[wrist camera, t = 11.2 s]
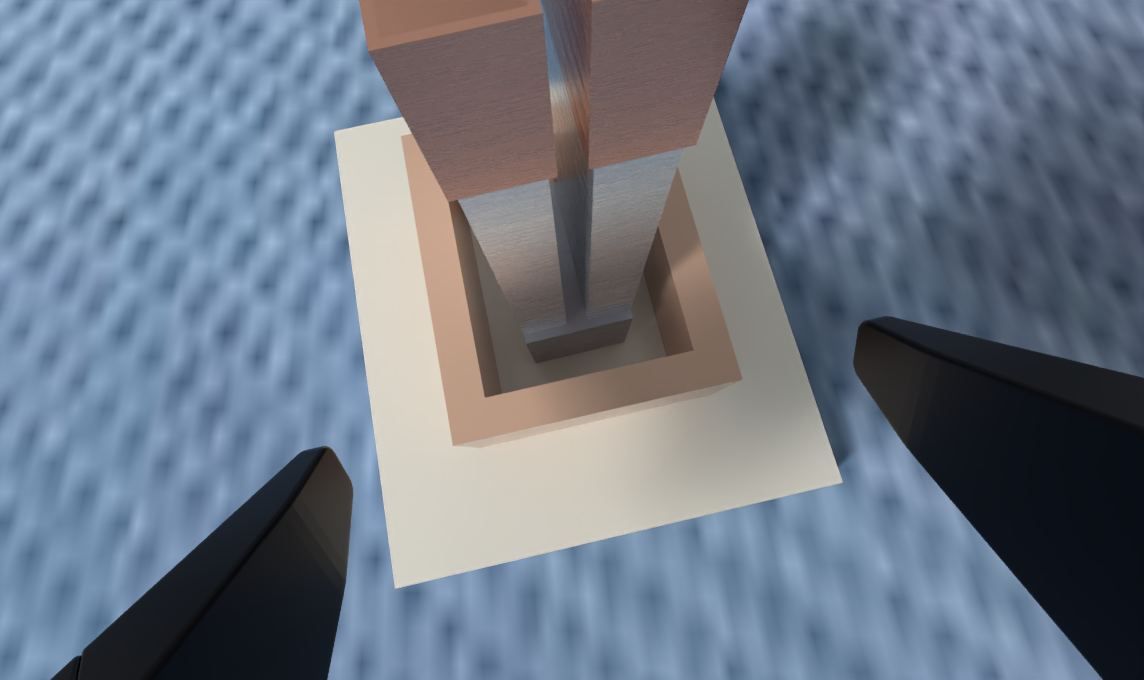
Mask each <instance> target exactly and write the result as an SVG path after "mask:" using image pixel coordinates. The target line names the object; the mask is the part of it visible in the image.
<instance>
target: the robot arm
mask: <svg viewBox="0 0 1144 680" xmlns="http://www.w3.org/2000/svg"><path fill="white" fill-rule="evenodd" d="M853 363H854V369H855V372H856V374H857V376H858V377H859V379H860V380H861V382H862V383H863V385H864V386H865V388H866V389H867V391H868V392H869V394H870V395H871V397H872V398H873V399H874V401H875V402H876V404H877V405H878V407H879V408H880V410H881V411H882V413H883V414H884V416H885V417H886V419H887V420H888V422H889V423H890V424H891V426H892V427H893V429H894V430H895V432H896V433H897V435H898V436H899V437H900V439H901V440H902V442H903V443H904V444H905V446H906V447H907V448H908V450H909V451H910V452H911V453H912V454H913V456H914V457H915V458H916V459H917V461H918V462H919V463H920V464H921V465H922V467H923V468H924V469H925V470H926V471H927V472H928V474H929V475H930V476H931V477H932V478H933V480H934V481H935V482H936V483H937V484H938V485H939V487H940V488H941V489H942V490H943V491H944V493H945V494H946V495H947V496H948V497H949V498H950V500H951V501H952V502H953V503H954V504H955V506H956V507H957V508H958V509H959V510H960V511H961V513H962V514H963V515H964V516H965V517H966V519H967V520H968V521H969V522H970V523H971V524H972V526H973V527H974V528H975V529H976V530H977V532H978V533H979V534H980V535H981V536H982V537H983V539H984V540H985V541H986V542H987V543H988V545H989V546H990V547H991V548H992V549H993V550H994V552H995V553H996V554H997V555H998V556H999V558H1000V559H1001V560H1002V561H1003V562H1004V563H1005V565H1006V566H1007V567H1008V568H1009V569H1010V571H1011V572H1012V573H1013V574H1014V575H1015V576H1016V578H1017V579H1018V580H1019V581H1020V582H1021V584H1022V585H1023V586H1024V587H1025V588H1026V589H1027V591H1028V592H1029V593H1030V594H1031V595H1032V597H1033V598H1034V599H1035V600H1036V601H1037V602H1038V604H1039V605H1040V606H1041V607H1042V608H1043V610H1044V611H1045V612H1046V613H1047V614H1048V615H1049V617H1050V618H1051V619H1052V620H1053V621H1054V623H1055V624H1056V625H1057V626H1058V627H1059V628H1060V630H1061V631H1062V632H1063V633H1064V634H1065V636H1066V637H1067V638H1068V639H1069V640H1070V641H1071V643H1072V644H1073V645H1074V646H1075V647H1076V649H1077V650H1078V651H1079V652H1080V653H1081V654H1082V656H1083V657H1084V658H1085V659H1086V660H1087V662H1088V663H1089V664H1090V665H1091V666H1092V667H1093V669H1094V670H1095V671H1096V672H1097V673H1098V675H1099V676H1100V677H1101V678H1102V679H1103V680H1144V378H1142V377H1138V376H1134V375H1130V374H1126V373H1122V372H1117V371H1113V370H1109V369H1105V368H1101V367H1097V366H1093V365H1089V364H1084V363H1080V362H1076V361H1072V360H1068V359H1064V358H1060V357H1056V356H1051V355H1047V354H1043V353H1039V352H1035V351H1031V350H1027V349H1022V348H1018V347H1014V346H1010V345H1006V344H1002V343H998V342H994V341H989V340H985V339H981V338H977V337H973V336H969V335H965V334H960V333H956V332H952V331H948V330H944V329H940V328H936V327H932V326H927V325H923V324H919V323H915V322H911V321H907V320H903V319H899V318H894V317H890V316H883V317H879V318H874V319H870V320H866V321H864V322H862V323H861V324H860V326H859V328H858V333H857V340H856V347H855V353H854V361H853ZM352 502H353V487H352V483H351V480H350V478H349V476H348V475H347V473H346V471H345V469H344V468H343V466H342V464H341V463H340V461H339V459H338V457H337V456H336V454H335V452H334V451H333V450H332V449H331V448H330V447H327V446H322V447H318V448H313V449H309V450H305V451H302V452H301V453H299V454H298V455H297V456H296V457H295V458H294V459H293V460H291V461H290V462H289V463H288V464H287V465H286V466H285V467H284V468H283V469H282V470H280V471H279V472H278V473H277V474H276V475H275V476H274V477H273V478H272V479H271V480H269V481H268V482H267V483H266V484H265V485H264V486H263V487H262V488H261V489H260V490H258V491H257V492H256V493H255V494H254V495H253V496H252V497H251V498H250V499H249V500H247V501H246V502H245V503H244V504H243V505H242V506H241V507H240V508H239V509H238V510H236V511H235V512H234V513H233V514H232V515H231V516H230V517H229V518H228V519H227V520H225V521H224V522H223V523H222V524H221V525H220V526H219V527H218V528H217V529H216V530H215V531H213V532H212V533H211V534H210V535H209V536H208V537H207V538H206V539H205V540H204V541H202V542H201V543H200V544H199V545H198V546H197V547H196V548H195V549H194V550H193V551H191V552H190V553H189V554H188V555H187V556H186V557H185V558H184V559H183V560H182V561H180V562H179V563H178V564H177V565H176V566H175V567H174V568H173V569H172V570H171V571H169V572H168V573H167V574H166V575H165V576H164V577H163V578H162V579H161V580H160V581H158V582H157V583H156V584H155V585H154V586H153V587H152V588H151V589H150V590H149V591H147V592H146V593H145V594H144V595H143V596H142V597H141V598H140V599H139V600H138V601H136V602H135V603H134V604H133V605H132V606H131V607H130V608H129V609H128V610H127V611H125V612H124V613H123V614H122V615H121V616H120V617H119V618H118V619H117V620H116V621H114V622H113V623H112V624H111V625H110V626H109V627H108V628H107V629H106V630H105V631H103V632H102V633H101V634H100V635H99V636H98V637H97V638H96V639H95V640H94V641H92V642H91V643H90V644H89V645H88V646H87V647H86V648H85V649H84V650H83V652H82V656H76V657H75V658H74V659H72V660H71V661H70V662H69V663H68V664H67V665H66V666H65V667H64V668H63V669H62V670H60V671H59V672H58V673H57V674H56V675H55V676H54V677H53V678H52V679H51V680H327V678H328V673H329V668H330V663H331V657H332V652H333V647H334V642H335V637H336V632H337V626H338V621H339V616H340V611H341V606H342V601H343V595H344V589H345V583H346V575H347V566H348V553H349V541H350V528H351V515H352Z"/></svg>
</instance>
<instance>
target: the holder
mask: <svg viewBox="0 0 1144 680" xmlns="http://www.w3.org/2000/svg"><path fill="white" fill-rule="evenodd" d="M334 135H335V142H336V150H337V157H338V165H339V172H340V180H341V187H342V195H343V202H344V210H345V217H346V225H347V232H348V239H349V247H350V254H351V262H352V269H353V277H354V284H355V292H356V299H357V307H358V314H359V322H360V329H361V337H362V344H363V352H364V359H365V367H366V374H367V382H368V389H369V397H370V404H371V412H372V419H373V426H374V434H375V441H376V449H377V456H378V464H379V471H380V479H381V486H382V494H383V501H384V509H385V516H386V524H387V531H388V539H389V546H390V554H391V561H392V569H393V576H394V584H395V589H396V588H400V587H404V586H408V585H413V584H417V583H421V582H425V581H430V580H434V579H438V578H442V577H446V576H451V575H455V574H459V573H463V572H468V571H472V570H476V569H480V568H484V567H489V566H493V565H497V564H501V563H506V562H510V561H514V560H518V559H522V558H527V557H531V556H535V555H539V554H544V553H548V552H552V551H556V550H560V549H565V548H569V547H573V546H577V545H582V544H586V543H590V542H594V541H598V540H603V539H607V538H611V537H615V536H620V535H624V534H628V533H632V532H636V531H641V530H645V529H649V528H653V527H658V526H662V525H666V524H670V523H674V522H679V521H683V520H687V519H691V518H696V517H700V516H704V515H708V514H712V513H717V512H721V511H725V510H729V509H734V508H738V507H742V506H746V505H750V504H755V503H759V502H763V501H767V500H772V499H776V498H780V497H784V496H788V495H793V494H797V493H801V492H805V491H810V490H814V489H818V488H822V487H826V486H831V485H835V484H839V483H843V482H842V479H841V476H840V473H839V470H838V467H837V464H836V461H835V458H834V455H833V452H832V449H831V446H830V443H829V440H828V437H827V434H826V431H825V428H824V425H823V422H822V419H821V416H820V413H819V410H818V407H817V404H816V401H815V398H814V395H813V392H812V389H811V386H810V383H809V380H808V377H807V374H806V371H805V368H804V365H803V362H802V359H801V356H800V353H799V350H798V347H797V344H796V341H795V339H794V336H793V333H792V330H791V327H790V324H789V321H788V318H787V315H786V312H785V309H784V306H783V303H782V300H781V297H780V294H779V291H778V288H777V285H776V282H775V279H774V276H773V273H772V270H771V267H770V264H769V261H768V258H767V255H766V252H765V249H764V246H763V243H762V240H761V237H760V234H759V231H758V228H757V225H756V222H755V219H754V216H753V213H752V210H751V207H750V204H749V201H748V198H747V195H746V192H745V189H744V186H743V183H742V180H741V177H740V174H739V171H738V169H737V166H736V163H735V160H734V157H733V154H732V151H731V148H730V145H729V142H728V139H727V136H726V133H725V130H724V127H723V124H722V121H721V118H720V115H719V112H718V109H717V106H716V103H715V100H714V97H713V100H712V102H711V105H710V108H709V111H708V113H707V116H706V119H705V122H704V124H703V127H702V130H701V133H700V135H699V138H698V141H697V144H696V145H695V146H690V147H686V148H683V151H682V154H681V157H680V160H679V163H678V166H677V169H676V172H675V175H674V178H673V181H672V185H671V188H670V191H669V194H668V197H667V200H666V203H665V206H664V209H663V212H662V215H661V218H660V221H659V224H658V227H657V230H656V233H655V236H654V239H653V243H652V246H651V249H650V252H649V255H648V258H647V261H646V264H645V267H644V270H643V273H642V276H641V279H640V282H639V285H638V288H637V291H636V294H635V297H634V301H633V304H632V307H631V313H632V316H633V319H632V322H631V325H630V328H629V330H628V333H627V336H626V338H625V341H624V342H623V343H619V344H615V345H611V346H606V347H602V348H598V349H594V350H590V351H586V352H582V353H577V354H573V355H569V356H565V357H561V358H557V359H553V360H548V361H544V362H540V363H535V361H534V359H533V357H532V355H531V353H530V351H529V349H528V347H527V345H526V343H525V338H524V335H523V332H522V330H521V328H520V326H519V324H518V322H517V320H516V318H515V316H514V314H513V312H512V310H511V308H510V306H509V304H508V302H507V300H506V298H505V296H504V294H503V291H502V289H501V287H500V285H499V283H498V281H497V279H496V277H495V275H494V273H493V271H492V269H491V267H490V265H489V263H488V261H487V259H486V257H485V255H484V252H483V250H482V248H481V246H480V244H479V242H478V240H477V238H476V236H475V234H474V232H473V230H472V228H471V226H470V224H469V222H468V220H467V218H466V216H465V214H464V211H463V209H462V207H461V205H460V203H459V201H458V200H455V201H451V202H448V201H447V199H446V197H445V195H444V193H443V191H442V189H441V188H440V186H439V184H438V182H437V180H436V178H435V176H434V174H433V172H432V171H431V169H430V167H429V165H428V163H427V161H426V159H425V157H424V155H423V154H422V152H421V150H420V148H419V146H418V144H417V142H416V140H415V139H414V137H413V135H412V133H411V131H410V129H409V127H408V125H407V123H406V122H405V120H404V118H403V117H401V118H396V119H391V120H386V121H381V122H377V123H372V124H367V125H362V126H357V127H353V128H348V129H343V130H338V131H334ZM552 183H554V180H553V178H551V179H549V184H552Z"/></svg>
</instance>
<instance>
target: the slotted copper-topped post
mask: <svg viewBox="0 0 1144 680" xmlns="http://www.w3.org/2000/svg"><path fill="white" fill-rule="evenodd" d="M748 1H749V0H359V2H360V8H361V13H362V19H363V24H364V30H365V36H366V41H367V47H368V52H369V54H370V55H371V57H372V59H373V61H374V63H375V65H376V67H377V69H378V71H379V72H380V74H381V76H382V78H383V80H384V82H385V84H386V86H387V88H388V89H389V91H390V93H391V95H392V97H393V99H394V101H395V103H396V105H397V106H398V108H399V110H400V112H401V114H402V116H403V118H404V120H405V122H406V123H407V125H408V127H409V129H410V131H411V133H412V135H413V137H414V139H415V140H416V142H417V144H418V146H419V148H420V150H421V152H422V154H423V155H424V157H425V159H426V161H427V163H428V165H429V167H430V169H431V171H432V172H433V174H434V176H435V178H436V180H437V182H438V184H439V186H440V188H441V189H442V191H443V193H444V195H445V197H446V199H447V201H448V202H451V201H455V200H458V201H459V203H460V205H461V207H462V209H463V211H464V214H465V216H466V218H467V220H468V222H469V224H470V226H471V228H472V230H473V232H474V234H475V236H476V238H477V240H478V242H479V244H480V246H481V248H482V250H483V252H484V255H485V257H486V259H487V261H488V263H489V265H490V267H491V269H492V271H493V273H494V275H495V277H496V279H497V281H498V283H499V285H500V287H501V289H502V291H503V294H504V296H505V298H506V300H507V302H508V304H509V306H510V308H511V310H512V312H513V314H514V316H515V318H516V320H517V322H518V324H519V326H520V328H521V330H522V332H523V335H524V338H525V343H526V345H527V347H528V349H529V351H530V353H531V355H532V357H533V359H534V361H535V363H540V362H544V361H548V360H553V359H557V358H561V357H565V356H569V355H573V354H577V353H582V352H586V351H590V350H594V349H598V348H602V347H606V346H611V345H615V344H619V343H623V342H624V341H625V338H626V336H627V333H628V330H629V328H630V325H631V322H632V319H633V316H632V313H631V307H632V304H633V301H634V297H635V294H636V291H637V288H638V285H639V282H640V279H641V276H642V273H643V270H644V267H645V264H646V261H647V258H648V255H649V252H650V249H651V246H652V243H653V239H654V236H655V233H656V230H657V227H658V224H659V221H660V218H661V215H662V212H663V209H664V206H665V203H666V200H667V197H668V194H669V191H670V188H671V185H672V181H673V178H674V175H675V172H676V169H677V166H678V163H679V160H680V157H681V154H682V151H683V148H686V147H690V146H695V145H696V144H697V141H698V138H699V135H700V133H701V130H702V127H703V124H704V122H705V119H706V116H707V113H708V111H709V108H710V105H711V102H712V100H713V97H714V94H715V91H716V89H717V86H718V83H719V80H720V78H721V75H722V72H723V70H724V67H725V64H726V61H727V59H728V56H729V53H730V50H731V48H732V45H733V42H734V39H735V37H736V34H737V31H738V28H739V26H740V23H741V20H742V17H743V15H744V12H745V9H746V6H747V4H748ZM551 178H553V180H554V183H552V184H549V179H551Z"/></svg>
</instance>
